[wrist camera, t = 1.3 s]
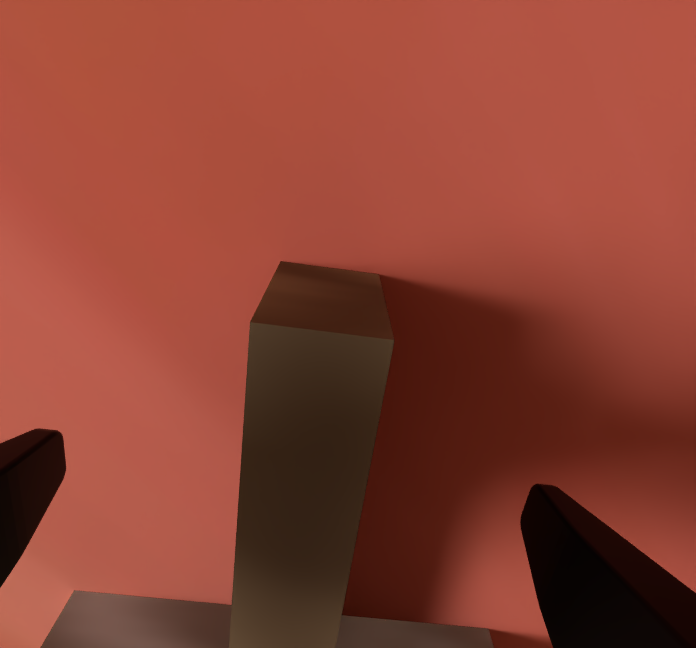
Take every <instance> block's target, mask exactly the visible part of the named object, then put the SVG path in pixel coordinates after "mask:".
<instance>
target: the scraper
mask: <svg viewBox="0 0 696 648" xmlns="http://www.w3.org/2000/svg"><path fill="white" fill-rule="evenodd" d="M393 345H394V336H393V332H392V328H391V323H390V319H389V315H388V311H387V306H386V302H385V298H384V294H383V289H382V285H381V281H380V277H379V274H373V273H365V272H358V271H350V270H343V269H335V268H328V267H320V266H313V265H305V264H298V263H290V262H283V261H281V262H280V264H279V266H278V268H277V270H276V272H275V274H274V276H273V278H272V280H271V282H270V284H269V286H268V288H267V290H266V292H265V294H264V296H263V298H262V300H261V302H260V304H259V306H258V308H257V309H256V311H255V313H254V315H253V317H252V319H251V321H250V332H249V348H248V363H247V378H246V394H245V409H244V424H243V440H242V455H241V471H240V486H239V501H238V517H237V532H236V547H235V563H234V578H233V593H232V605H226V604H216V603H205V602H194V601H183V600H172V599H161V598H151V597H140V596H129V595H118V594H107V593H96V592H86V591H75V590H74V592H73V593H72V595H71V597H70V599H69V600H68V602H67V604H66V605H65V607H64V609H63V610H62V612H61V614H60V615H59V617H58V619H57V620H56V622H55V624H54V626H53V627H52V629H51V631H50V632H49V634H48V636H47V637H46V639H45V641H44V642H43V644H42V646H41V647H40V648H494V646H493V643H492V639H491V636H490V632H489V629H486V628H475V627H465V626H454V625H443V624H432V623H421V622H410V621H400V620H389V619H378V618H367V617H356V616H346V615H342V611H343V605H344V600H345V595H346V590H347V585H348V579H349V574H350V569H351V564H352V559H353V553H354V548H355V543H356V538H357V533H358V527H359V522H360V517H361V512H362V507H363V501H364V496H365V491H366V486H367V480H368V475H369V470H370V465H371V460H372V454H373V449H374V444H375V439H376V434H377V428H378V423H379V418H380V413H381V408H382V402H383V397H384V392H385V387H386V382H387V376H388V371H389V366H390V361H391V356H392V350H393Z"/></svg>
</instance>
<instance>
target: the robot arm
mask: <svg viewBox="0 0 696 648" xmlns="http://www.w3.org/2000/svg"><path fill="white" fill-rule="evenodd" d="M65 472H66V460H65V451H64V441H63V436H62V434H61V432H59V431H57V430H49V429H34V430H31V431H29V432H26V433H24V434H22V435H19V436H17V437H15V438H12V439H10V440H7V441H5V442H3V443H0V587H1V586H2V584H3V583H4V582H5V580H6V579H7V577H8V576H9V574H10V573H11V571H12V570H13V568H14V567H15V565H16V564H17V562H18V560H19V559H20V557H21V556H22V554H23V552H24V550H25V549H26V547H27V545H28V544H29V542H30V540H31V538H32V536H33V534H34V532H35V531H36V529H37V527H38V525H39V523H40V521H41V520H42V518H43V516H44V514H45V512H46V510H47V508H48V507H49V505H50V503H51V501H52V499H53V497H54V496H55V494H56V492H57V490H58V488H59V486H60V484H61V483H62V481H63V478H64V476H65ZM520 524H521V531H522V535H523V540H524V544H525V548H526V552H527V557H528V561H529V565H530V570H531V574H532V578H533V582H534V587H535V591H536V595H537V599H538V603H539V606H540V610H541V613H542V616H543V619H544V622H545V625H546V628H547V631H548V634H549V637H550V640H551V643H552V645H553V648H696V593H695V592H694V591H692V590H691V589H690V588H688V587H687V586H686V585H684V584H683V583H682V582H680V581H679V580H678V579H677V578H675V577H674V576H673V575H671V574H670V573H669V572H667V571H666V570H665V569H664V568H662V567H661V566H660V565H658V564H657V563H656V562H654V561H653V560H652V559H650V558H649V557H648V556H647V555H645V554H644V553H643V552H641V551H640V550H639V549H637V548H636V547H635V546H633V545H632V544H631V543H630V542H628V541H627V540H626V539H624V538H623V537H622V536H620V535H619V534H618V533H616V532H615V531H614V530H613V529H611V528H610V527H609V526H607V525H606V524H605V523H603V522H602V521H601V520H599V519H598V518H597V517H596V516H594V515H593V514H592V513H590V512H589V511H588V510H586V509H585V508H584V507H582V506H581V505H580V504H579V503H577V502H576V501H575V500H573V499H572V498H571V497H569V496H568V495H567V494H566V493H564V492H563V491H562V490H560V489H559V488H558V487H556V486H553V485H544V484H535V485H533V486H532V487H531V489H530V492H529V495H528V498H527V500H526V503H525V506H524V509H523V511H522V514H521V520H520Z"/></svg>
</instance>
